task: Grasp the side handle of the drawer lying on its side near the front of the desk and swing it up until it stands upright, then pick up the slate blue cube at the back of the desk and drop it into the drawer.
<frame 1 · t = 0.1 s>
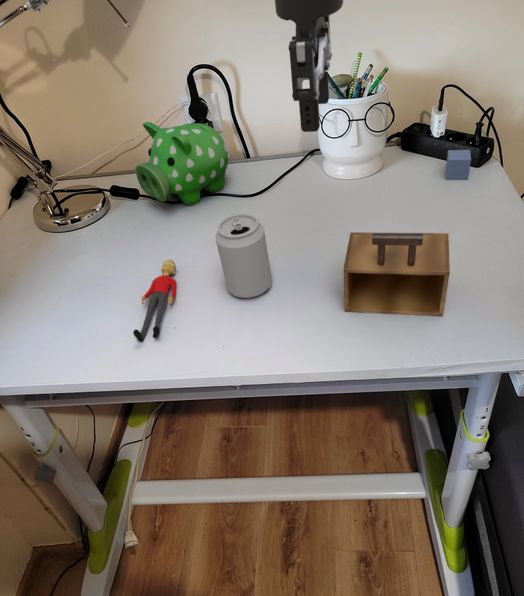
hand: (315, 116, 65), 25 cm above the table, tool pointing down, fingers open, 8 cm apart
slate blue cube: (456, 174, 99), on the table
person figure: (162, 303, 84), on the table
can: (250, 287, 84), on the table
piggy bank: (193, 194, 108), on the table
drawer: (396, 259, 73), point 6 cm above the table, hinge at 0.0°
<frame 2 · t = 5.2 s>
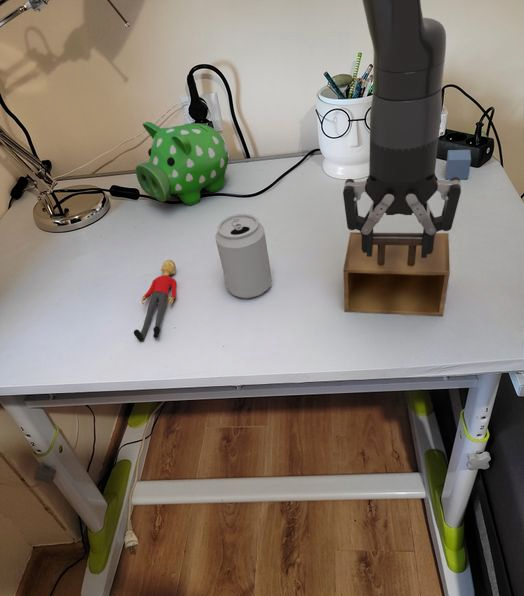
hand: (396, 253, 68), 10 cm above the table, tool pointing down, fingers closed on drawer, 6 cm apart
drawer: (396, 259, 73), point 6 cm above the table, hinge at 0.0°, touching gripper
everything else where it was.
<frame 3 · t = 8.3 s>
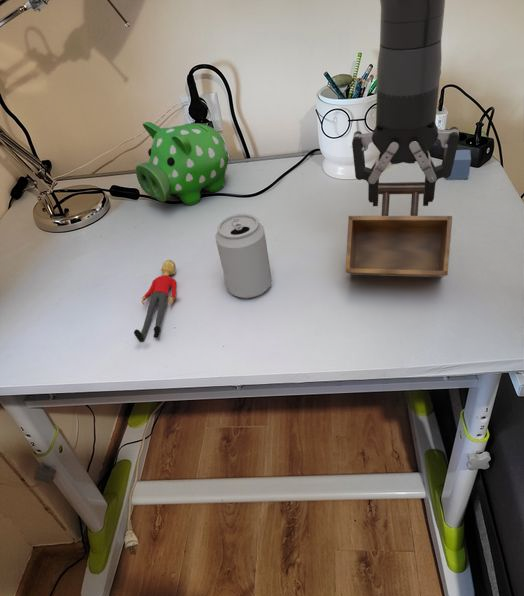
hand: (400, 203, 74), 11 cm above the table, tool pointing down, fingers closed on drawer, 6 cm apart
drawer: (398, 231, 75), point 8 cm above the table, hinge at 40.0°, touching gripper
everything else where it was.
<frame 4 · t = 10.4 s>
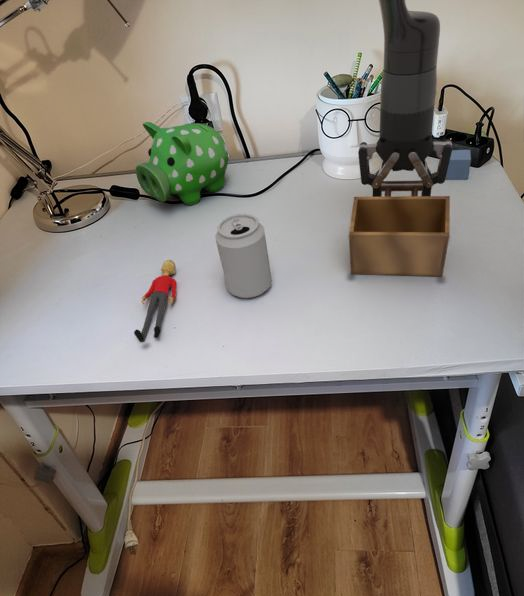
hand: (400, 205, 84), 6 cm above the table, tool pointing down, fingers closed on drawer, 6 cm apart
drawer: (399, 225, 80), point 6 cm above the table, hinge at 78.3°, touching gripper
everything else where it was.
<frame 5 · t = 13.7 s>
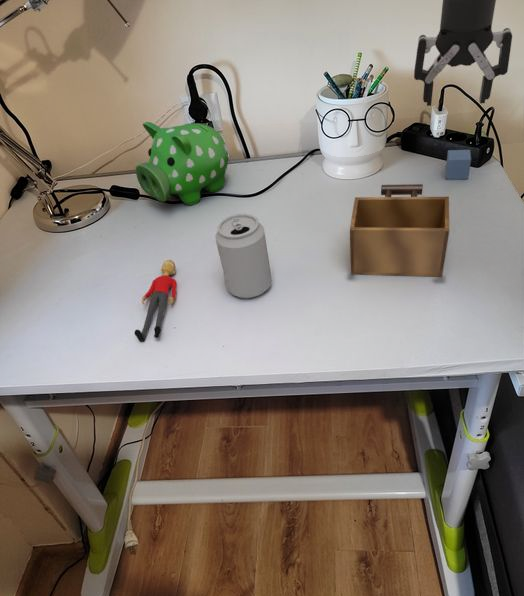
hand: (455, 102, 86), 15 cm above the table, tool pointing down, fingers open, 8 cm apart
drawer: (398, 226, 81), point 5 cm above the table, hinge at 84.8°
everything else where it was.
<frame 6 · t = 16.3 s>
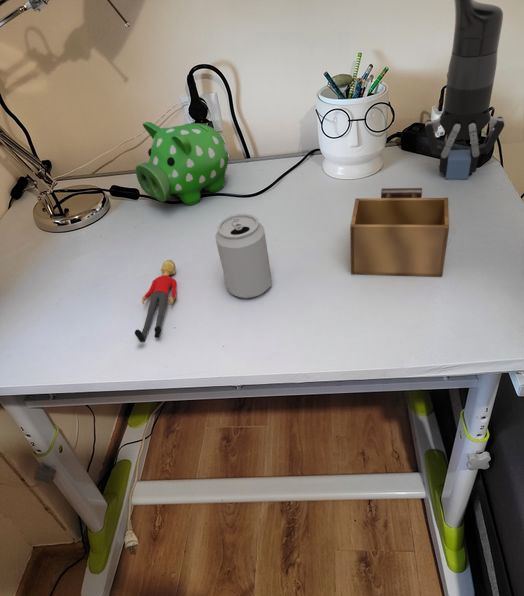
hand: (456, 173, 99), 0 cm above the table, tool pointing down, fingers closed on slate blue cube, 4 cm apart
slate blue cube: (456, 174, 99), on the table, touching gripper
drawer: (398, 228, 81), point 5 cm above the table, hinge at 90.0°
everything else where it was.
when the fingers open (7 cm above the table, at t = 22.7 s): slate blue cube drops 6 cm, resting on drawer.
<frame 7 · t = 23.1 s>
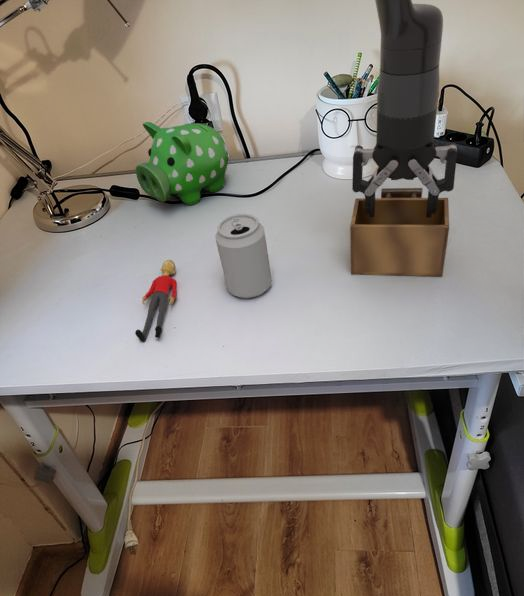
hand: (400, 214, 77), 8 cm above the table, tool pointing down, fingers open, 8 cm apart
slate blue cube: (396, 257, 82), point 1 cm above the table, touching drawer
drawer: (398, 228, 81), point 5 cm above the table, hinge at 90.0°, touching slate blue cube
everything else where it was.
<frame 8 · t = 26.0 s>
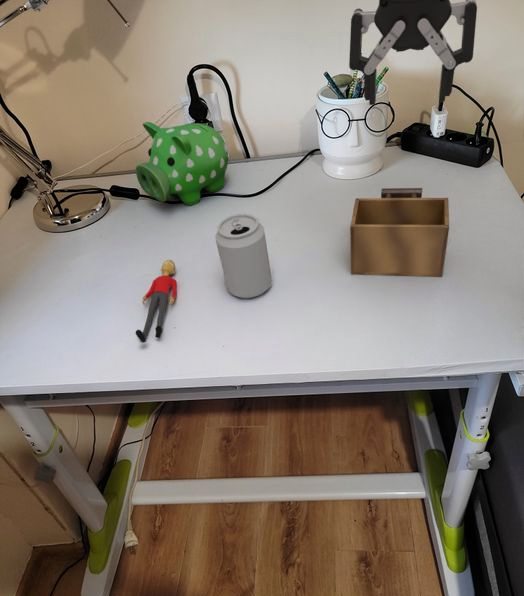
hand: (406, 101, 65), 25 cm above the table, tool pointing down, fingers open, 8 cm apart
nothing on the table moved.
at the end: drawer at +90° (first picture: +0°); slate blue cube inside the target area on the drawer (0.1 cm from its centre), point 0.6 cm above the drawer's base; the gripper is holding nothing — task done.
